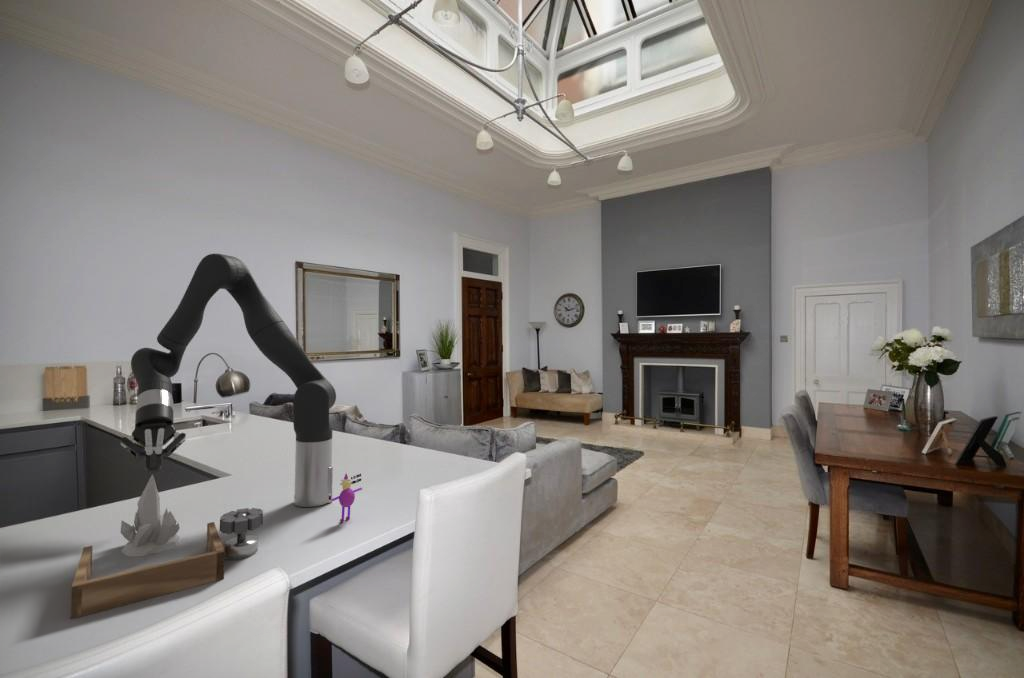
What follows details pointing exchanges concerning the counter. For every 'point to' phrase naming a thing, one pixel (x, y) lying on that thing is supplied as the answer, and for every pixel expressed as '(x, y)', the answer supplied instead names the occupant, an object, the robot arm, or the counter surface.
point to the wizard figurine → (346, 494)
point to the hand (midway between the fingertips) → (153, 471)
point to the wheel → (241, 521)
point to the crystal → (150, 526)
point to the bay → (144, 579)
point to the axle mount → (241, 545)
